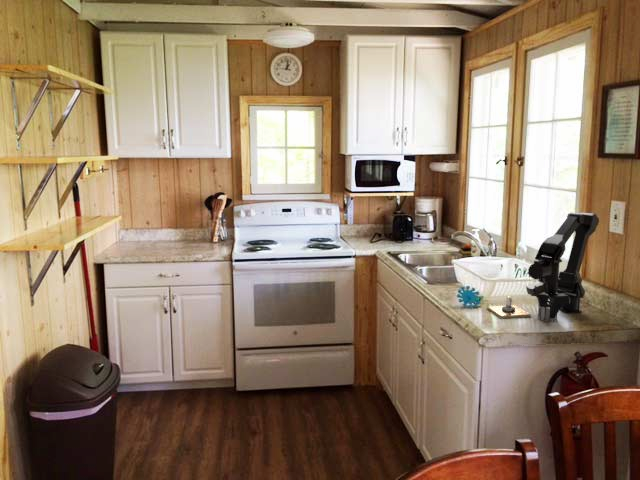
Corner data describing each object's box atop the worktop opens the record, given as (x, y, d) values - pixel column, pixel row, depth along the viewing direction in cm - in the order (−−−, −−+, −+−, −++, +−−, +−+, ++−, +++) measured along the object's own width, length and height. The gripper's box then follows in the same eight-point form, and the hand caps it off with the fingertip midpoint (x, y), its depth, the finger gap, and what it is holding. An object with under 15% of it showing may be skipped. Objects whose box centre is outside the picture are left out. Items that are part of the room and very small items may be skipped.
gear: (458, 305, 219) (456, 283, 225) (454, 312, 224) (452, 290, 230) (485, 308, 220) (483, 286, 226) (480, 315, 225) (478, 293, 231)
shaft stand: (515, 307, 221) (516, 292, 220) (530, 316, 210) (531, 300, 208) (487, 308, 220) (487, 293, 219) (500, 318, 208) (501, 301, 207)
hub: (550, 315, 211) (551, 302, 210) (560, 320, 205) (561, 307, 204) (534, 316, 210) (535, 303, 209) (543, 321, 204) (544, 308, 203)
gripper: (517, 270, 212) (515, 309, 215) (543, 282, 194) (540, 324, 197) (544, 269, 214) (541, 307, 217) (572, 281, 196) (569, 323, 198)
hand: (547, 315), depth 207 cm, fingers closed on hub, 7 cm apart
